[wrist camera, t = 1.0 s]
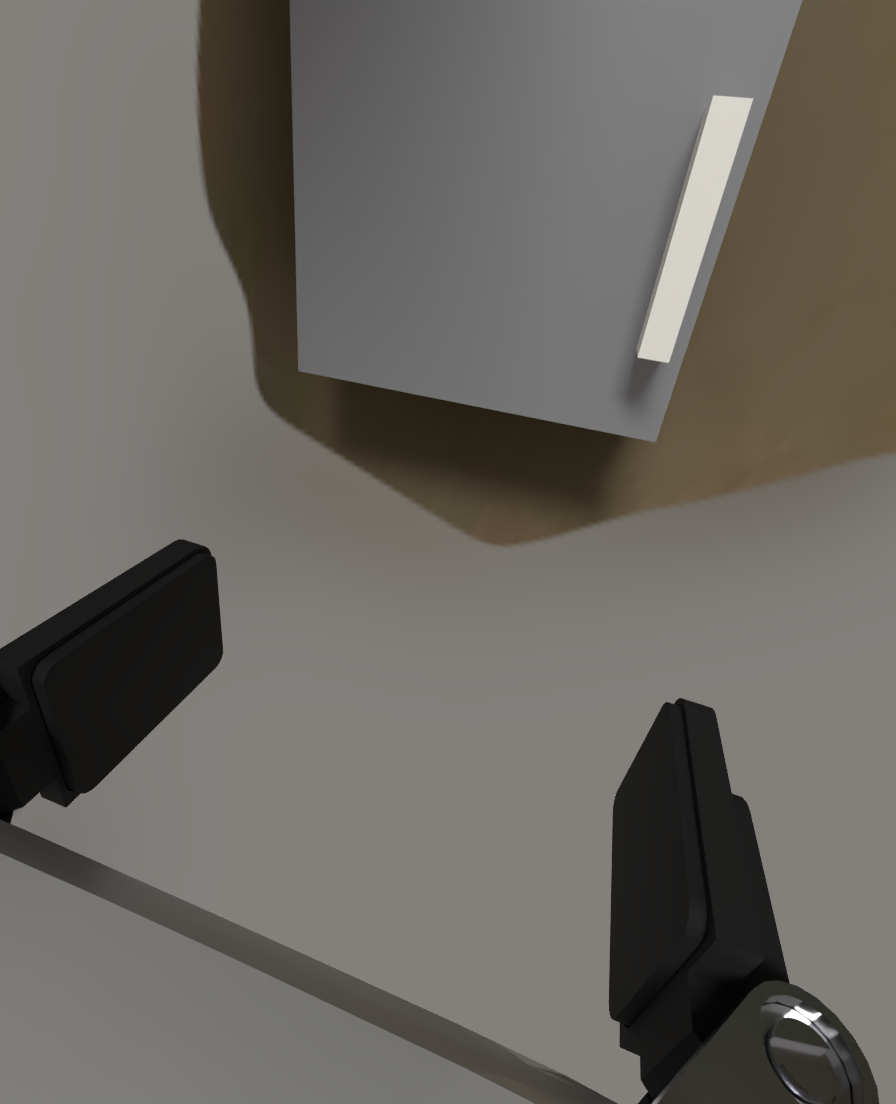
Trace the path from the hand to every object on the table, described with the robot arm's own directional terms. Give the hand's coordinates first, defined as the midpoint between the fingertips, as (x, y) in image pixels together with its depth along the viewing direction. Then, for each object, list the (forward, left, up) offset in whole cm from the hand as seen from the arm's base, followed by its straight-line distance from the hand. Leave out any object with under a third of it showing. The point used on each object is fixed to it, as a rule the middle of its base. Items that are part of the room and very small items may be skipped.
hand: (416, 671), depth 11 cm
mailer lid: (-8, -4, -20) cm, 22 cm away
